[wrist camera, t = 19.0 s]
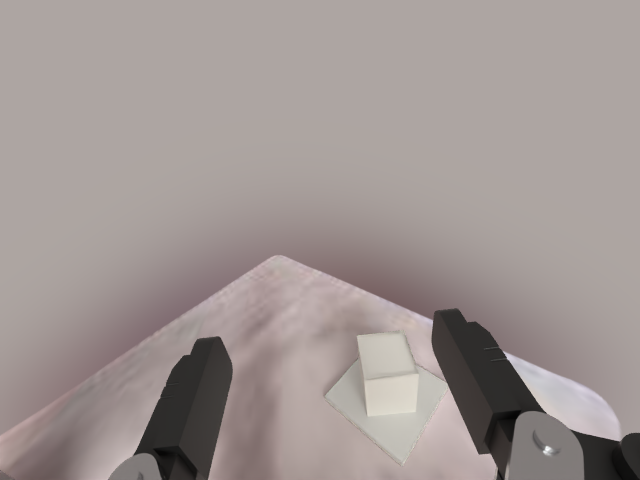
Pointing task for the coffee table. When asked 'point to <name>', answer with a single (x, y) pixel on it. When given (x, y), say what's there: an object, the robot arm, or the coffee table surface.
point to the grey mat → (391, 429)
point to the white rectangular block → (387, 373)
